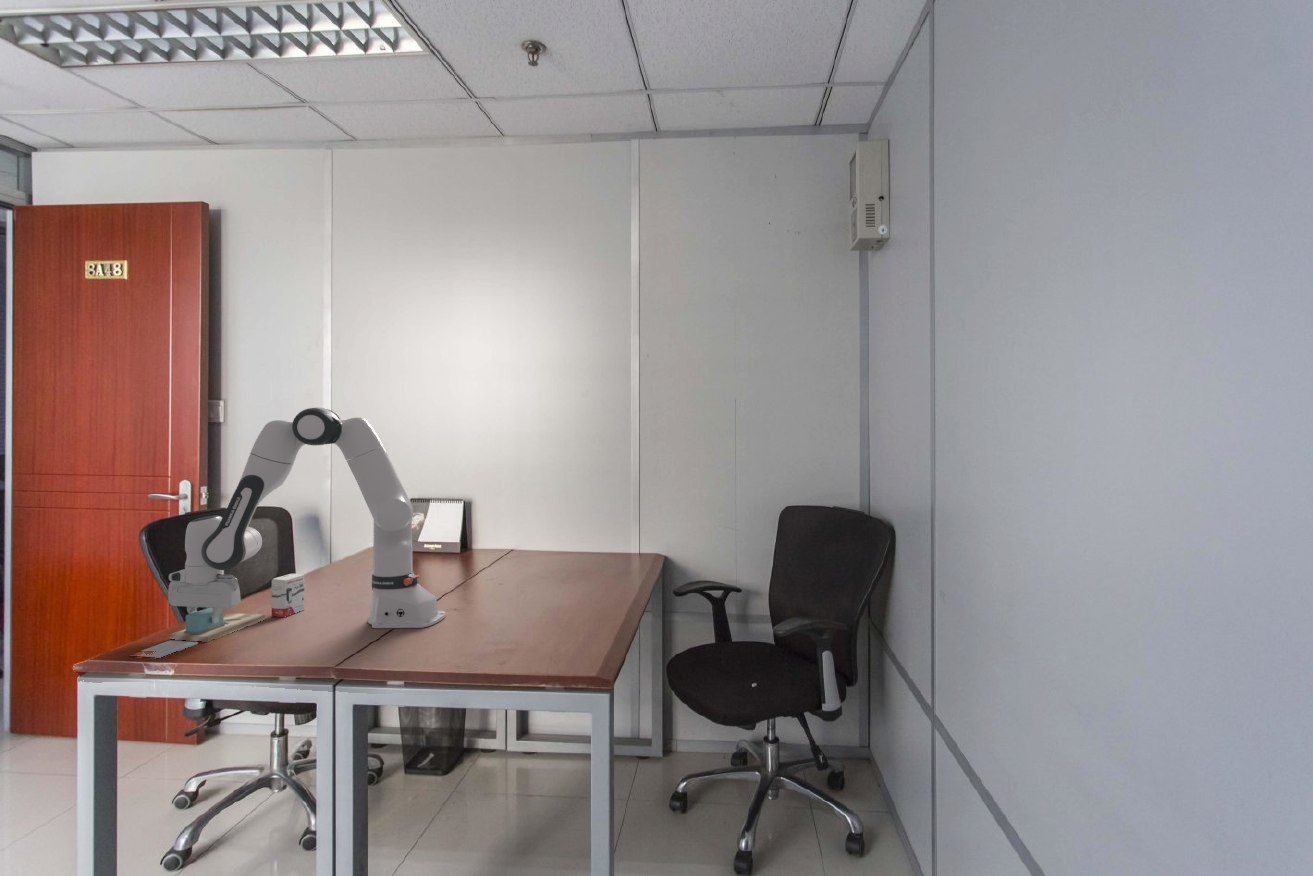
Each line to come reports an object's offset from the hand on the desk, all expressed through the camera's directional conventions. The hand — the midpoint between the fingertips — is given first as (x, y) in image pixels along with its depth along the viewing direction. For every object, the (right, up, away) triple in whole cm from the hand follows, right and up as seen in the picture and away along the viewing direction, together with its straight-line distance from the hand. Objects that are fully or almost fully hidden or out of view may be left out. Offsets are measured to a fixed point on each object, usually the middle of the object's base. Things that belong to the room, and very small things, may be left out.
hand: (204, 622), depth 172 cm
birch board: (+1, -4, +5) cm, 6 cm away
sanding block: (0, -2, 0) cm, 2 cm away
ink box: (+11, -4, +21) cm, 24 cm away
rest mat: (-2, -4, -12) cm, 13 cm away
